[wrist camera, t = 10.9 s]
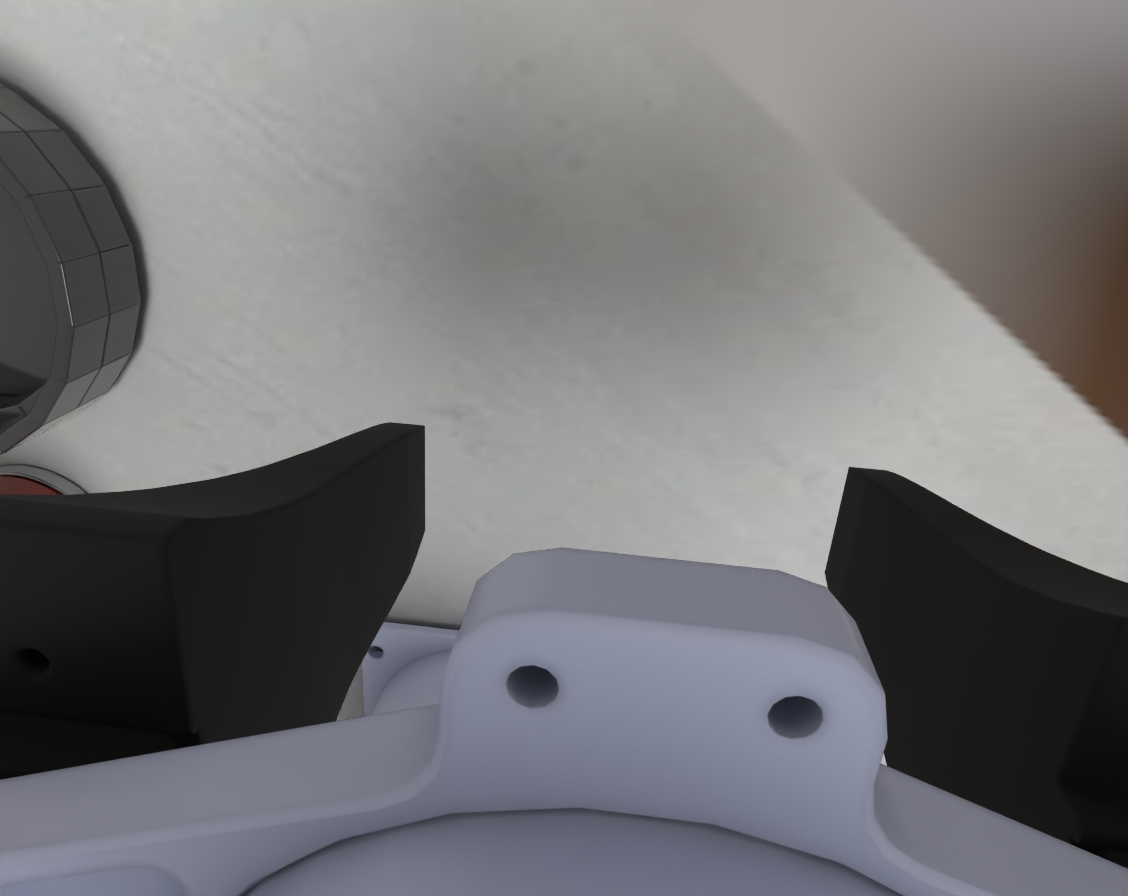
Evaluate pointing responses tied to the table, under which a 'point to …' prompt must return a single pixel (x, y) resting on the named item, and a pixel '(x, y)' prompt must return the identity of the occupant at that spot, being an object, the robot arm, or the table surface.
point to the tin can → (34, 482)
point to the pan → (57, 278)
